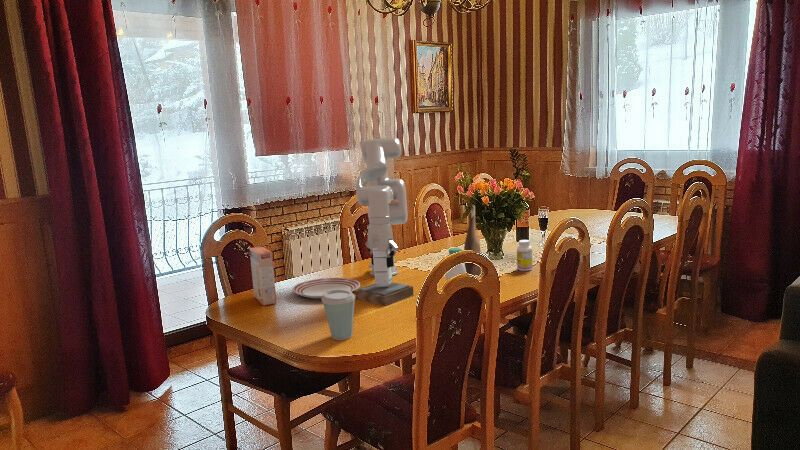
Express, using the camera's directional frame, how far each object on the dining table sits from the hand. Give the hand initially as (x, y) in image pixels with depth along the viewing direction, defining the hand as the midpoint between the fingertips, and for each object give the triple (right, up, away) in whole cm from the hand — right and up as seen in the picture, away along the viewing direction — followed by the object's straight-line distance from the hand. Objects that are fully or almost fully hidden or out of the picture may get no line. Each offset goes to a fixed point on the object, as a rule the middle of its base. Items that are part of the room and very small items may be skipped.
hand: (382, 265), depth 230 cm
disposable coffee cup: (-12, -21, -38) cm, 45 cm away
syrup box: (0, -7, +1) cm, 7 cm away
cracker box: (-47, -15, +7) cm, 50 cm away
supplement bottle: (+61, -4, +31) cm, 69 cm away
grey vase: (+37, -8, +20) cm, 43 cm away
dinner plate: (-23, -13, +13) cm, 29 cm away
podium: (+1, -13, +2) cm, 13 cm away
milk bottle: (+28, -13, -8) cm, 32 cm away
